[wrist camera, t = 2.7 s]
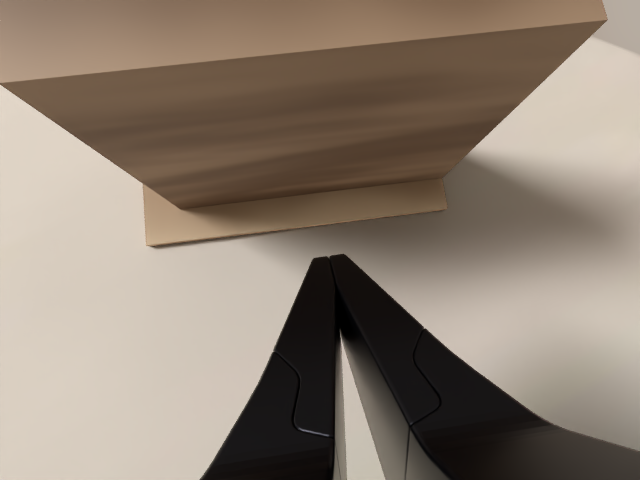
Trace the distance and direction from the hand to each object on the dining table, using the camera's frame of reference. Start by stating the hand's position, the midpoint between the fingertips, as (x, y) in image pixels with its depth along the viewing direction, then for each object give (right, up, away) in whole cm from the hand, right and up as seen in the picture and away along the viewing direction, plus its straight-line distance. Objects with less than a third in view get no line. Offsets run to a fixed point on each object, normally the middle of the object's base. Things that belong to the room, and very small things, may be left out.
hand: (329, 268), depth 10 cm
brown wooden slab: (-1, +5, +11) cm, 12 cm away
